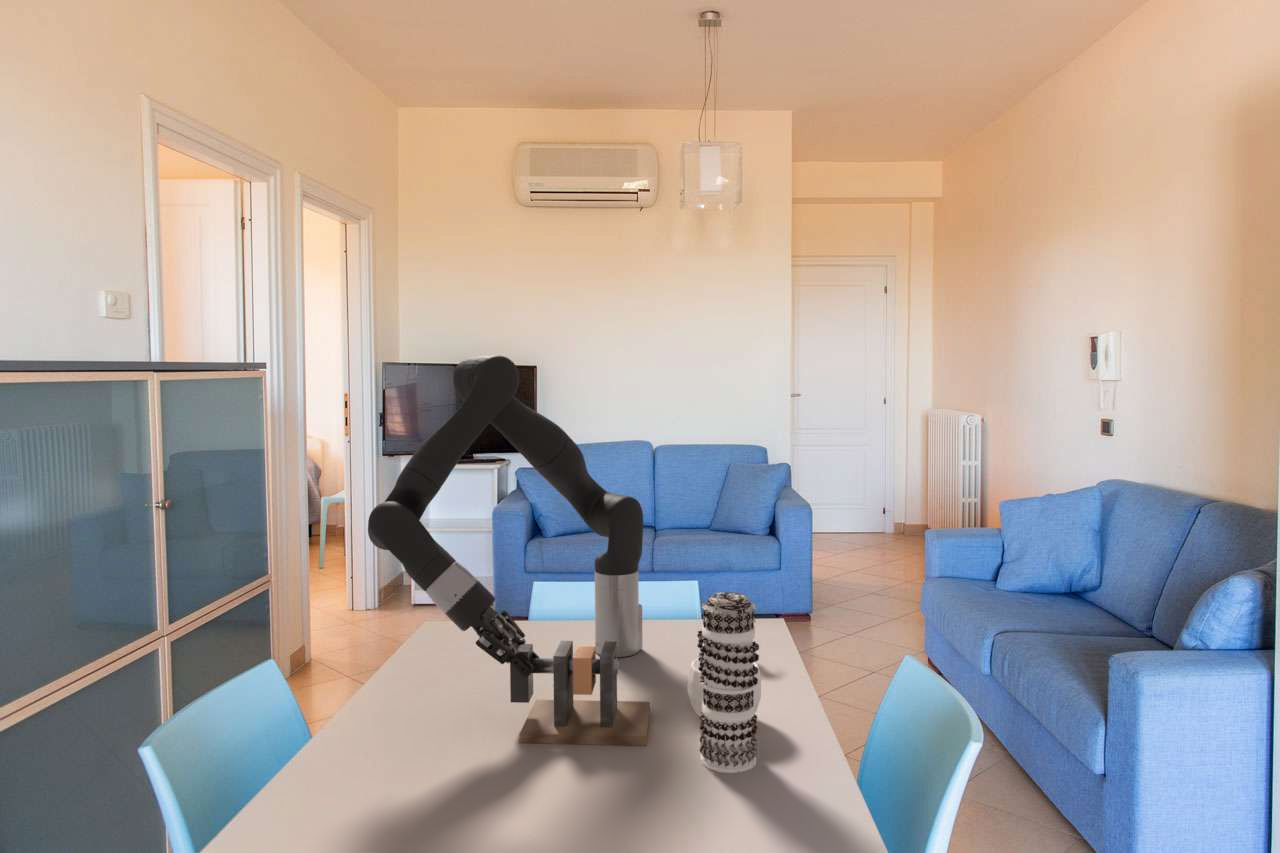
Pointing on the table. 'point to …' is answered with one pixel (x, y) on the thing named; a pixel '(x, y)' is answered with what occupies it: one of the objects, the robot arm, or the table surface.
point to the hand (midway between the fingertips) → (533, 668)
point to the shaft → (524, 686)
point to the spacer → (583, 670)
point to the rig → (586, 709)
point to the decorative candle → (728, 683)
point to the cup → (697, 690)
